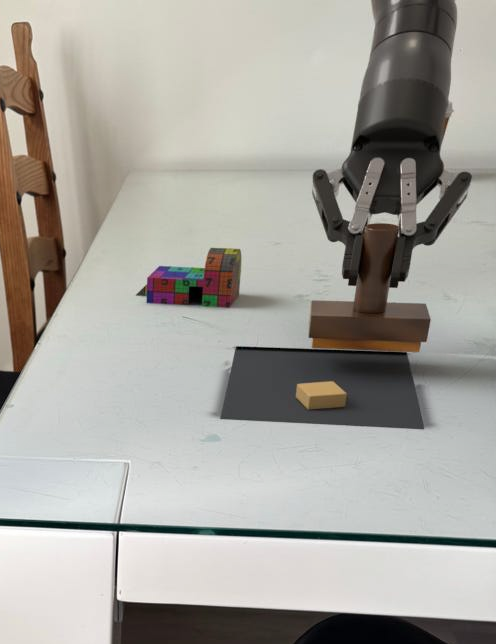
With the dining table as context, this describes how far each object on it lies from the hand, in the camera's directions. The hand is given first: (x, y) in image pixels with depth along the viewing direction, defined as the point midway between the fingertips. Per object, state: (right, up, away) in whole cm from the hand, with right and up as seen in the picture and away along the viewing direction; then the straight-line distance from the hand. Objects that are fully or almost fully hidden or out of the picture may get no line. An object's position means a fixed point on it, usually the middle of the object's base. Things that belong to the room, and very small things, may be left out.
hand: (373, 281), depth 86 cm
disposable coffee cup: (+39, +50, +91) cm, 111 cm away
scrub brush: (+1, -4, +5) cm, 6 cm away
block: (-12, +7, +29) cm, 32 cm away
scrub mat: (-4, -9, +4) cm, 10 cm away
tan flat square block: (-5, -11, -1) cm, 12 cm away
